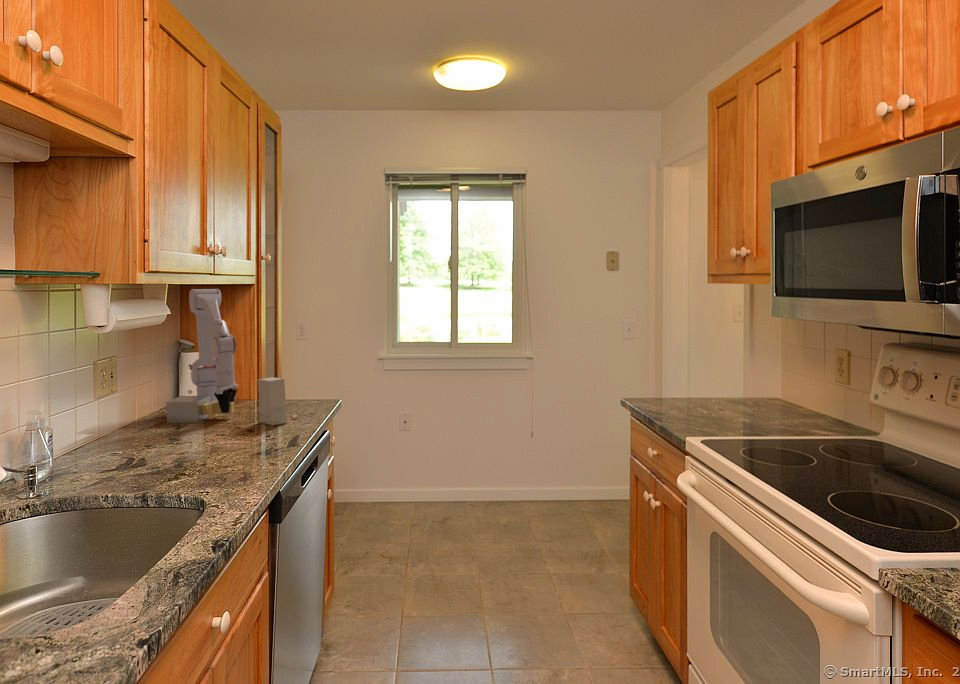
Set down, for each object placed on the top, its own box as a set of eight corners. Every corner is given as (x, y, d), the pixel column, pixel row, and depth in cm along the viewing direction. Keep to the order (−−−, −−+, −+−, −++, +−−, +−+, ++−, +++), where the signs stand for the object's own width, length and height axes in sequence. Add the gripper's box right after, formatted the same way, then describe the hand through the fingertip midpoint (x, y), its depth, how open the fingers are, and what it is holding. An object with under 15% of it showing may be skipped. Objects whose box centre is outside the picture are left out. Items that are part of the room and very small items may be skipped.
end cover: (190, 415, 226) (190, 401, 226) (235, 415, 227) (235, 400, 227) (184, 419, 220) (183, 404, 220) (230, 418, 221) (229, 404, 221)
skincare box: (287, 423, 216) (286, 378, 215) (270, 426, 212) (268, 380, 211) (275, 419, 222) (274, 376, 221) (258, 422, 218) (257, 378, 217)
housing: (181, 415, 229) (180, 395, 228) (210, 415, 230) (210, 395, 229) (167, 423, 217) (166, 402, 217) (198, 422, 218) (197, 401, 217)
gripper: (230, 375, 216) (232, 415, 217) (243, 369, 230) (245, 407, 231) (208, 375, 215) (210, 416, 217) (223, 369, 230) (224, 407, 231)
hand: (226, 411), depth 224 cm, fingers closed on end cover, 3 cm apart
